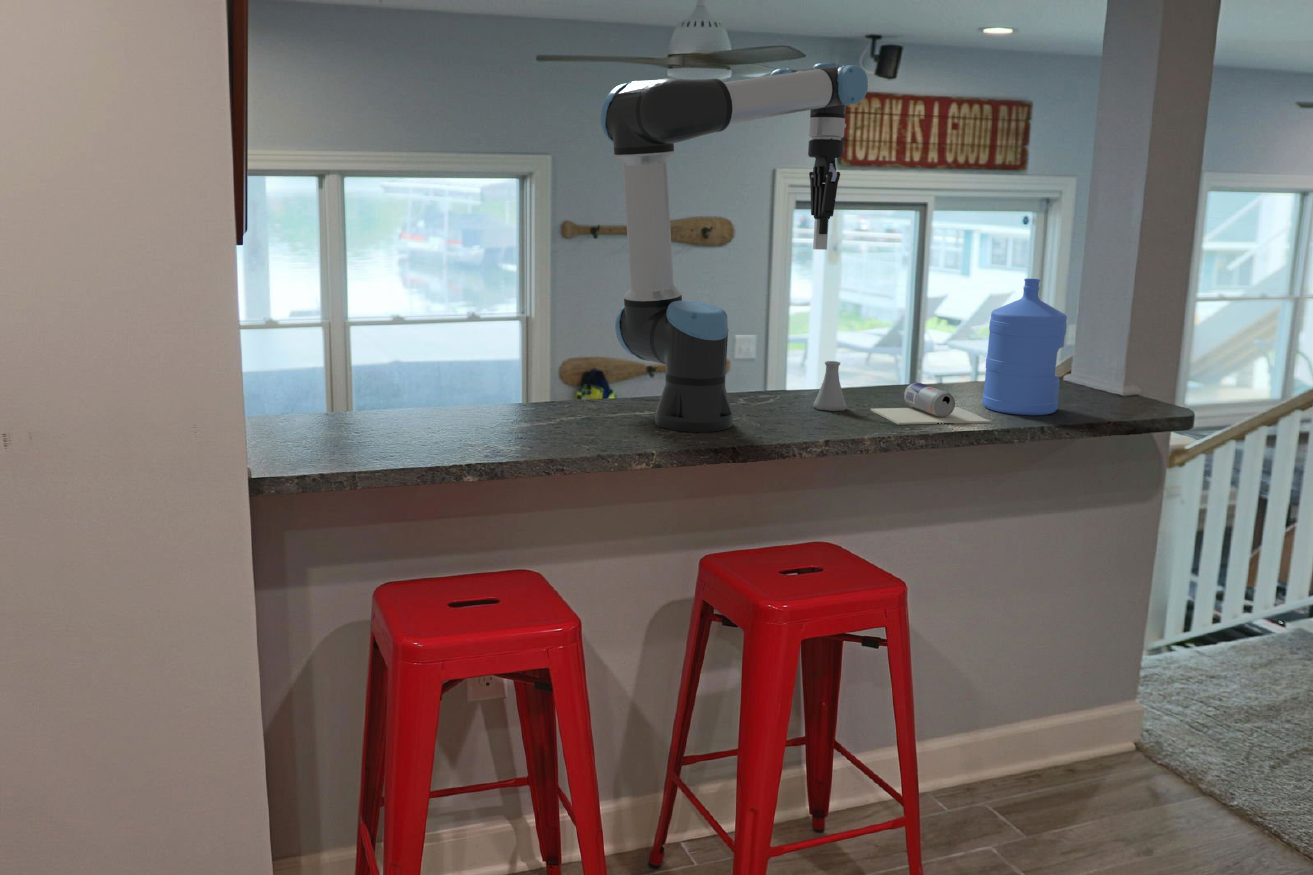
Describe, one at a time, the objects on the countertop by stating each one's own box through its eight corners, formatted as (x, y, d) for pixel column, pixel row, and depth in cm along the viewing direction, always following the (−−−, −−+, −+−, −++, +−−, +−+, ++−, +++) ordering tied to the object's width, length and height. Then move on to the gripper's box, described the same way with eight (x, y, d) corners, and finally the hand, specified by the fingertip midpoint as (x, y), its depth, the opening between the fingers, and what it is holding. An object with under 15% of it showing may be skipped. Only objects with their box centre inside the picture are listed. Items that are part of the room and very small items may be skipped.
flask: (845, 406, 238) (848, 360, 236) (848, 412, 231) (851, 365, 229) (811, 404, 239) (814, 358, 237) (813, 411, 232) (816, 364, 230)
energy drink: (929, 388, 238) (960, 399, 226) (917, 410, 238) (947, 422, 227) (910, 377, 236) (941, 387, 224) (898, 399, 236) (928, 411, 225)
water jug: (1013, 418, 230) (1027, 282, 224) (966, 403, 244) (978, 276, 238) (1073, 414, 236) (1088, 282, 229) (1024, 400, 250) (1036, 275, 244)
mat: (898, 424, 221) (898, 422, 220) (870, 410, 234) (870, 408, 234) (989, 422, 225) (989, 420, 225) (957, 408, 238) (957, 407, 238)
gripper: (854, 138, 234) (846, 251, 239) (832, 140, 246) (825, 247, 251) (820, 137, 232) (813, 250, 237) (799, 139, 244) (794, 247, 250)
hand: (819, 249), depth 244 cm, fingers closed
